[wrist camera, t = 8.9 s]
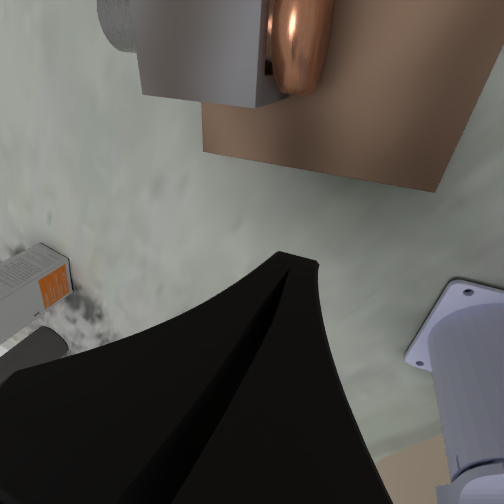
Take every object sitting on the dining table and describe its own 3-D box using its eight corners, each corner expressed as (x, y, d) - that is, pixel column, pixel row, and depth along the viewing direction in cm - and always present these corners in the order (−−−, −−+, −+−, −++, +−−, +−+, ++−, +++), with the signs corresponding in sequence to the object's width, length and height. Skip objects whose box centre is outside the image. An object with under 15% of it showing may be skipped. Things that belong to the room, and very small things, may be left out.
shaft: (343, -41, 11) (325, -94, 7) (320, 92, 13) (298, 100, 10) (143, -35, 13) (58, -73, 10) (156, 75, 16) (92, 77, 12)
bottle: (43, 321, 44) (-80, 414, 32) (72, 346, 45) (-37, 445, 33) (36, 332, 47) (-77, 418, 35) (63, 354, 48) (-38, 446, 36)
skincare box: (75, 292, 35) (-37, 374, 26) (47, 276, 35) (-72, 351, 26) (70, 257, 31) (-63, 338, 22) (39, 240, 32) (-104, 312, 22)
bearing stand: (617, -227, 8) (951, -642, 3) (431, 186, 15) (455, 238, 10) (203, -161, 11) (83, -317, 7) (210, 148, 18) (154, 174, 13)
